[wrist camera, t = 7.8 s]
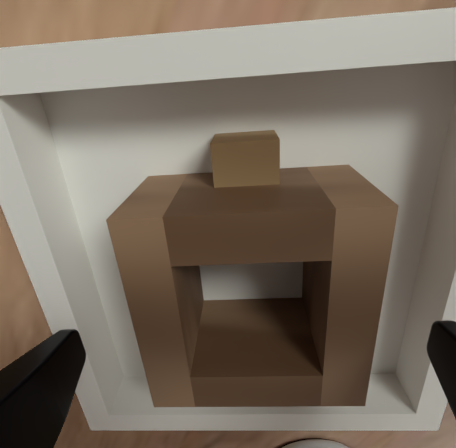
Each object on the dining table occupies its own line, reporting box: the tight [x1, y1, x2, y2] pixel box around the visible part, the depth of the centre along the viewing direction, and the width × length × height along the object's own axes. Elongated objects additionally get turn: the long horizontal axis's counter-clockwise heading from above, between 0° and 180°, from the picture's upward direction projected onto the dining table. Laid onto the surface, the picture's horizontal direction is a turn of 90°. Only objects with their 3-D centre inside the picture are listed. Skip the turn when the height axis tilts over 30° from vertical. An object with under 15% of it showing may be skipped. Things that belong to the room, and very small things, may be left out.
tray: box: [0, 7, 456, 431], centre depth 11 cm, size 14×14×2 cm
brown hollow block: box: [106, 130, 399, 407], centre depth 10 cm, size 8×6×4 cm
